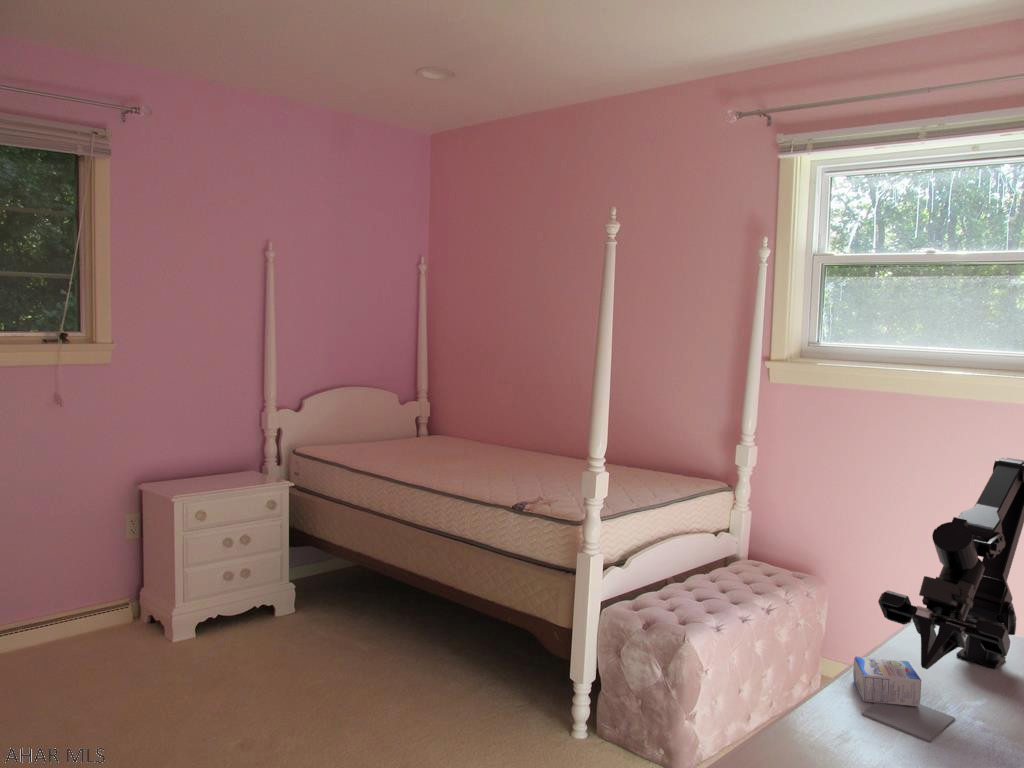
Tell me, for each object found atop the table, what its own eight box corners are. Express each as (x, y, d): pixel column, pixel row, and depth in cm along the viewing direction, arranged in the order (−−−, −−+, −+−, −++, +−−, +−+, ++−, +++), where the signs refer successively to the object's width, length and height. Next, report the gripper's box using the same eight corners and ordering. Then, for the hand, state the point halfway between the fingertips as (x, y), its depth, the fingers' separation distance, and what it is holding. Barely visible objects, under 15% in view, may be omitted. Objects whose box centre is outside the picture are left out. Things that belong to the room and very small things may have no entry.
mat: (889, 694, 135) (889, 692, 135) (954, 719, 128) (955, 717, 128) (861, 714, 128) (861, 712, 128) (929, 742, 121) (929, 740, 121)
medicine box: (922, 680, 130) (863, 674, 132) (920, 707, 130) (861, 701, 132) (909, 660, 137) (853, 655, 139) (907, 686, 138) (852, 681, 140)
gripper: (888, 543, 139) (853, 622, 132) (1014, 574, 125) (981, 664, 119) (902, 579, 145) (869, 656, 139) (1022, 612, 132) (992, 699, 125)
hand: (924, 667), depth 130 cm, fingers closed
